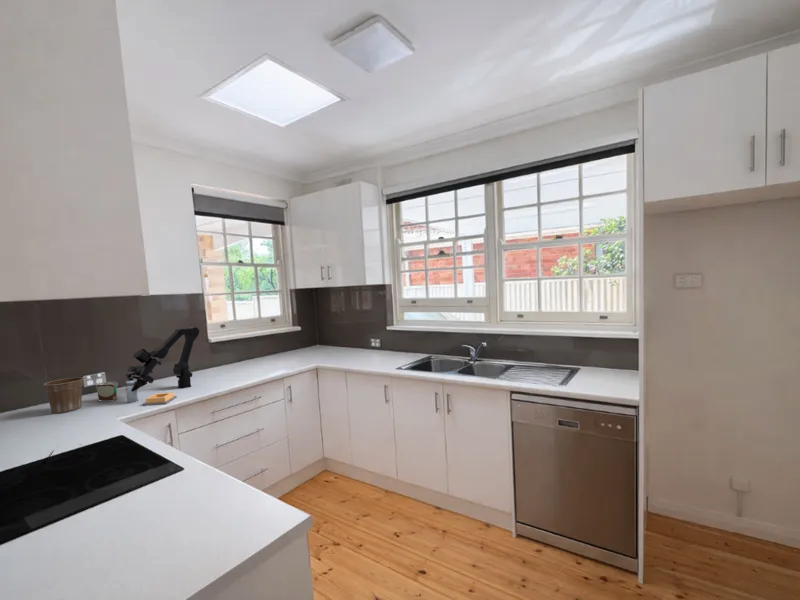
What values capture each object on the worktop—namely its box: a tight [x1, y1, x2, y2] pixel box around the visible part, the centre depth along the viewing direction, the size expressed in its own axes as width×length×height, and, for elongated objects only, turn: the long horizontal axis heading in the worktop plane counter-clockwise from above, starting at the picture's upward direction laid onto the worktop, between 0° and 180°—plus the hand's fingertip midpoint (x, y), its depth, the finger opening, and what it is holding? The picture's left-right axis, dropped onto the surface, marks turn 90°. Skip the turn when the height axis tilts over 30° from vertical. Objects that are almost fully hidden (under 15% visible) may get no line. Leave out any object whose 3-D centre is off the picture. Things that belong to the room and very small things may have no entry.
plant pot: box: [43, 376, 85, 414], centre depth 199 cm, size 16×16×16 cm
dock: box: [142, 392, 178, 407], centre depth 207 cm, size 12×12×4 cm
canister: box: [125, 379, 139, 404], centre depth 210 cm, size 5×5×12 cm
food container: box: [95, 381, 119, 402], centre depth 217 cm, size 12×6×10 cm, turn 84°
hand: (129, 390), depth 208 cm, fingers closed on canister, 5 cm apart
